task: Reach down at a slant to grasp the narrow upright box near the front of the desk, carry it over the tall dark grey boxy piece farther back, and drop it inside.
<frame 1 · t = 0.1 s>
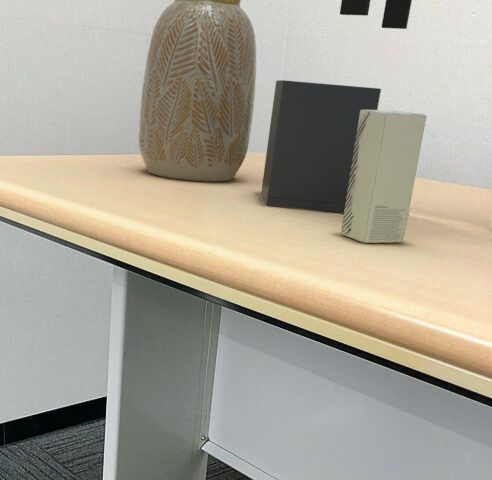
hand: (375, 22, 81), 22 cm above the table, tool pointing down, fingers open, 13 cm apart
vase: (189, 177, 118), on the table
box: (369, 241, 79), on the table
dark grey boxy piece: (307, 203, 100), on the table
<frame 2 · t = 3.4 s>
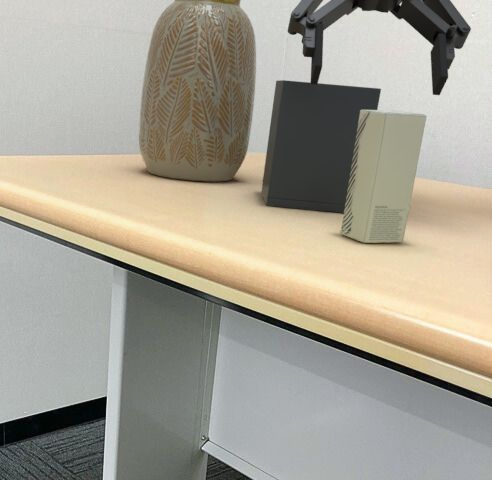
hand: (378, 80, 83), 16 cm above the table, tool tilted 45°, fingers open, 13 cm apart
nothing on the table moved.
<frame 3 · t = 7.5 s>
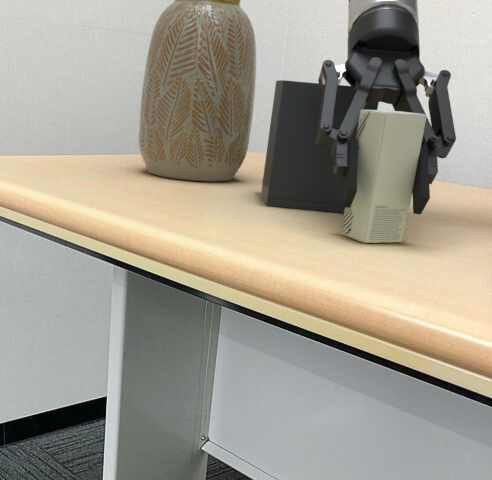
hand: (385, 202, 74), 4 cm above the table, tool tilted 45°, fingers closed on box, 6 cm apart
box: (369, 241, 79), on the table, touching gripper
everything else where it was.
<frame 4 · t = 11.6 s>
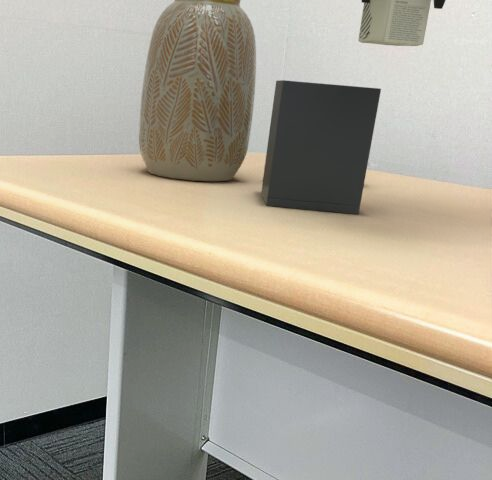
box: (388, 47, 76), point 19 cm above the table, touching gripper
everything else where it was.
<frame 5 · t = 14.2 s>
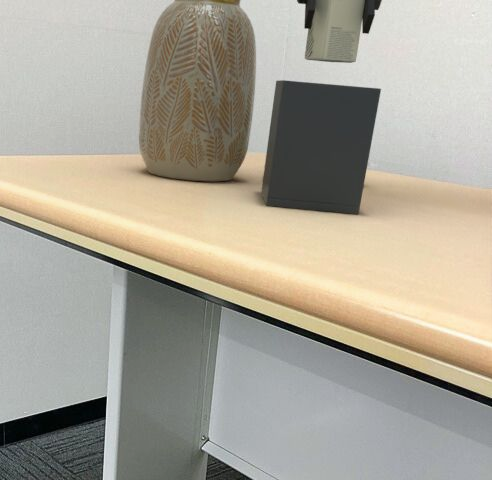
hand: (339, 21, 89), 22 cm above the table, tool tilted 45°, fingers closed on box, 6 cm apart
box: (328, 63, 94), point 17 cm above the table, touching gripper
everything else where it was.
when the fingers open (17 cm above the table, at t = 16.0 s): box drops 12 cm, resting on dark grey boxy piece.
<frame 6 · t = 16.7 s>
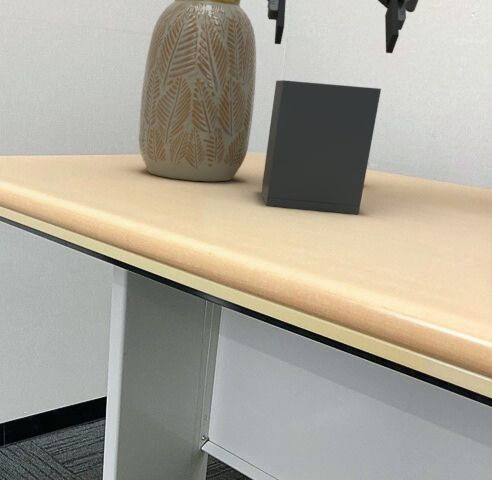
hand: (335, 40, 91), 20 cm above the table, tool tilted 45°, fingers open, 13 cm apart
box: (307, 194, 100), point 1 cm above the table, touching dark grey boxy piece
everything else where it was.
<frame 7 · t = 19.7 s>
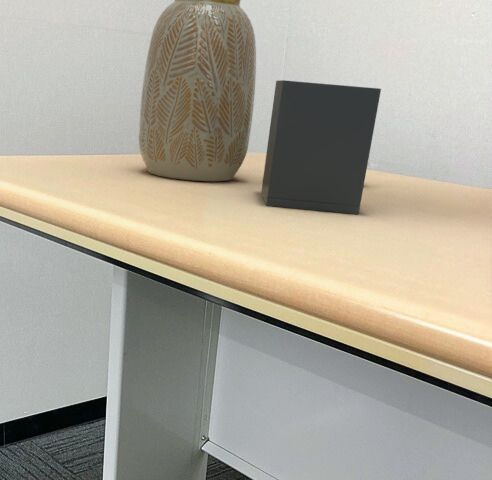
nothing on the table moved.
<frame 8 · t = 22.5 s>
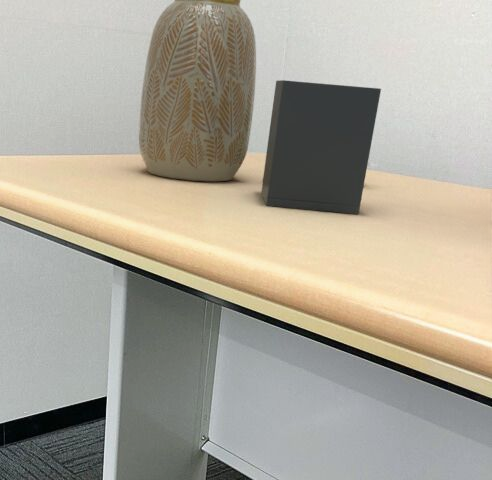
nothing on the table moved.
at the end: box inside the target area in the dark grey boxy piece (0.1 cm from its centre), point 0.8 cm above the dark grey boxy piece's base; the gripper is holding nothing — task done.
